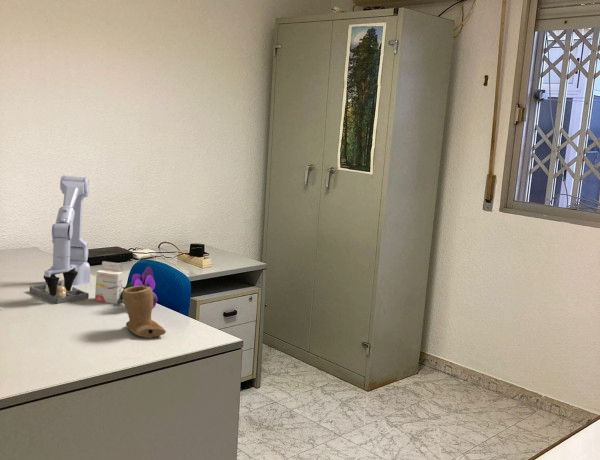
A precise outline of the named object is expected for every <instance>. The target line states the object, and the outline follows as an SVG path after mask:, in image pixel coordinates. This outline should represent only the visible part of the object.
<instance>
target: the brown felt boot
mask: <svg viewBox="0 0 600 460" xmlns="http://www.w3.org/2000/svg"><path fill="white" fill-rule="evenodd" d="M122 291H123V293H122V296H123V302H124V304H123V305H124V308H125V309H126V312H127V314H128V316H127V317H128V319H129V320H128V321H127V322H125V326H126V328H127V329H128V330H129V331H131V332H132V333H133V334H135V335H136V336H139V337H142V338H148V339H152V338H156V337H160V336H162V335H165V334H166V333H167V330H166V329H165V328H163V326H161V325H160V324H159V323H158V322H156V321H155V320H153V319H152V312H153V308H154V306H153V292H154V291H152V289H151V288H150V287H147V286H135V287H129V288H126V289H124V288H123V289H122Z"/></svg>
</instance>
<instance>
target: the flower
mask: <svg viewBox="0 0 600 460" xmlns="http://www.w3.org/2000/svg"><path fill="white" fill-rule="evenodd" d="M135 286H147V287H150V288H151V289H152V292H153V308H155V307H156V305H157V303H158V296H157V294H156V293H155V292H154V289H155V287H156V281H155V279H154V271H153V269H152V266H151V267H150V266H146V268H145V270H144V271H143V272H142V274H140V273H134V274H133V275H132V277H131V281H130V282H129V283H127V284H126V286H125V287H124V288H123V290H124V289H126V288H129V287H135ZM123 290H122V292H121V295H120V298H119V299H120V302H119V303H121V304H123V305H124V302H123V296H122V293H123Z"/></svg>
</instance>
